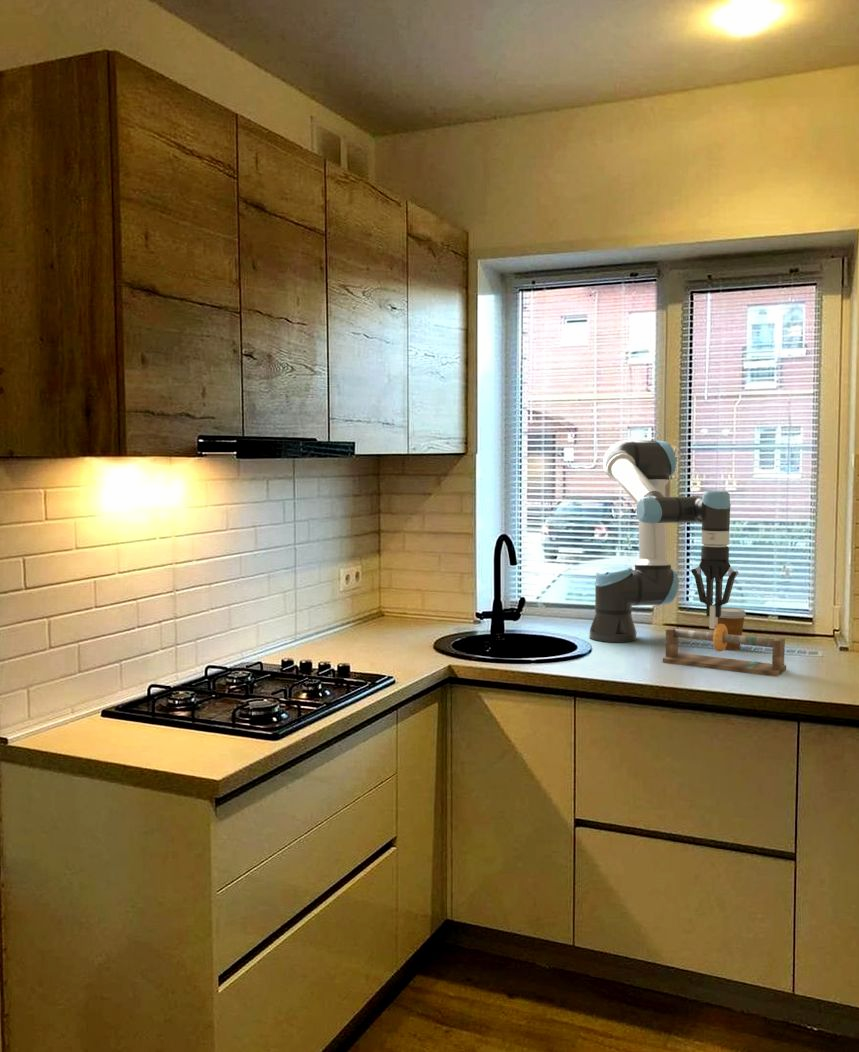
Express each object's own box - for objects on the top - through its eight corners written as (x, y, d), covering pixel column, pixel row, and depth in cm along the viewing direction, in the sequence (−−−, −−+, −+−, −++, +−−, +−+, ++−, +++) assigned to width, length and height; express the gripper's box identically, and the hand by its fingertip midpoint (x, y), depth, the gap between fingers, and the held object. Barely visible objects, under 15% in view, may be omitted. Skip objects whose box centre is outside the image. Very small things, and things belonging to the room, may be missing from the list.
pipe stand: (662, 662, 271) (663, 630, 271) (674, 656, 280) (674, 625, 279) (777, 676, 254) (778, 642, 253) (786, 669, 262) (787, 636, 261)
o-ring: (711, 653, 264) (712, 625, 264) (719, 648, 271) (720, 621, 270) (720, 654, 263) (721, 626, 262) (728, 649, 270) (729, 622, 269)
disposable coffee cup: (710, 648, 290) (711, 610, 290) (716, 643, 299) (717, 606, 298) (742, 651, 286) (743, 612, 285) (747, 646, 294) (748, 608, 294)
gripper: (688, 545, 266) (686, 627, 268) (734, 547, 259) (732, 632, 261) (696, 543, 273) (695, 623, 274) (742, 545, 265) (740, 628, 267)
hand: (713, 628), depth 267 cm, fingers closed
